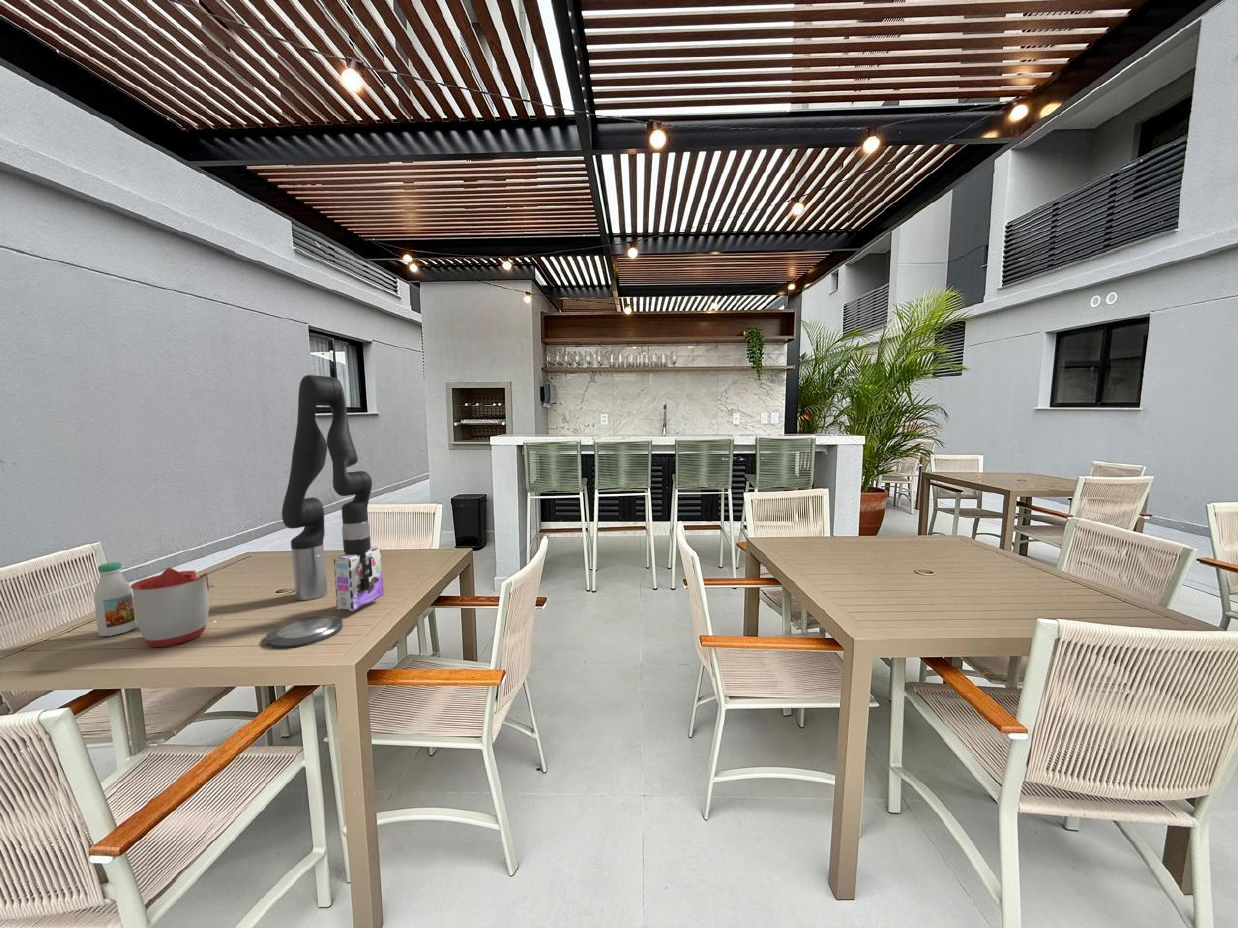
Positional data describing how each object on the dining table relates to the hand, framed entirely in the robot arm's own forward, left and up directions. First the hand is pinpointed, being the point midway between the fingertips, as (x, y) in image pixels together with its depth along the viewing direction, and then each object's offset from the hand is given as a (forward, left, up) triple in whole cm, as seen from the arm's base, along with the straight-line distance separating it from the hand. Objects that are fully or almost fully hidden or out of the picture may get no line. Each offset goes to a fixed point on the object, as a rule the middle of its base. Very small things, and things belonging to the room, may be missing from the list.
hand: (360, 586), depth 157 cm
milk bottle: (-39, -52, -7) cm, 65 cm away
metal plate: (+7, -18, -7) cm, 20 cm away
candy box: (0, 0, -5) cm, 5 cm away
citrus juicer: (-19, -41, -7) cm, 45 cm away
